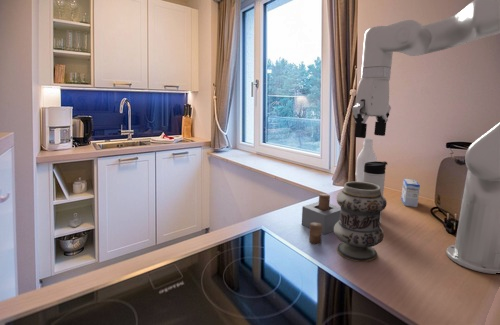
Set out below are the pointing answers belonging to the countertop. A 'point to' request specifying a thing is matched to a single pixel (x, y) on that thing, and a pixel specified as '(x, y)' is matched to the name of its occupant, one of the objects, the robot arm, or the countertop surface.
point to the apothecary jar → (359, 220)
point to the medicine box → (410, 192)
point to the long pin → (324, 202)
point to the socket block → (321, 216)
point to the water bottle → (364, 158)
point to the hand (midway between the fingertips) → (370, 136)
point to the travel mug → (375, 174)
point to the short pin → (315, 233)
